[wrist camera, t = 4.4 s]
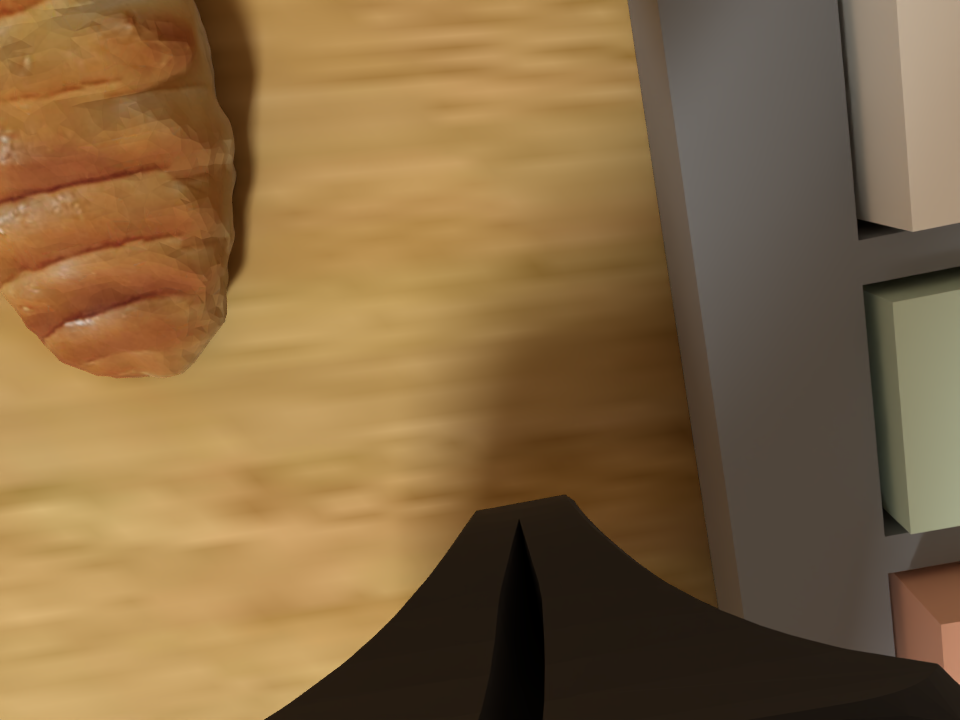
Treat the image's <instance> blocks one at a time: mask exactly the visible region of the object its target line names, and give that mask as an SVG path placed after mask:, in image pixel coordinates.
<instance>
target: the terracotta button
mask: <svg viewBox="0 0 960 720" xmlns="http://www.w3.org/2000/svg"><path fill="white" fill-rule="evenodd" d="M888 579H889V590H890V601H891V612H892V624H893V635H894V646H895V657H900V658H906V659H912V660H918V661H925V662H931V663H937V664H939V665H940V666H941V667H942V668H943V669H944V670H945V671H946V672H947V673H948V674H949V675H950V676H951V677H952V678H953V679H954V680H955V681H956V682H957V683H958V684H960V561H958V562H952V563H946V564H940V565H935V566H929V567H923V568H917V569H912V570H906V571H900V572H894V573H889V574H888Z"/></svg>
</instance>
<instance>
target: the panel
mask: <svg viewBox="0 0 960 720" xmlns="http://www.w3.org/2000/svg"><path fill="white" fill-rule="evenodd" d="M628 6H629V12H630V19H631V26H632V33H633V39H634V46H635V53H636V59H637V66H638V73H639V80H640V86H641V93H642V100H643V106H644V113H645V120H646V126H647V133H648V140H649V147H650V153H651V160H652V167H653V173H654V180H655V187H656V194H657V200H658V207H659V214H660V220H661V227H662V234H663V240H664V247H665V254H666V261H667V267H668V274H669V281H670V287H671V294H672V301H673V308H674V314H675V321H676V328H677V334H678V341H679V348H680V355H681V361H682V368H683V375H684V381H685V388H686V395H687V401H688V408H689V415H690V422H691V428H692V435H693V442H694V448H695V455H696V462H697V469H698V475H699V482H700V489H701V495H702V502H703V509H704V515H705V522H706V529H707V536H708V542H709V549H710V556H711V562H712V569H713V576H714V583H715V589H716V596H717V603H718V609H720V610H722V611H725V612H727V613H730V614H732V615H735V616H737V617H740V618H743V619H745V620H748V621H750V622H753V623H756V624H758V625H761V626H764V627H767V628H770V629H773V630H777V631H780V632H783V633H786V634H789V635H793V636H797V637H801V638H805V639H808V640H812V641H816V642H820V643H824V644H828V645H832V646H836V647H840V648H845V649H850V650H856V651H862V652H869V653H875V654H881V655H887V656H894V657H895V646H894V635H893V624H892V612H891V601H890V590H889V579H888V574H889V573H894V572H900V571H906V570H912V569H917V568H923V567H929V566H935V565H940V564H946V563H952V562H958V561H960V526H956V527H950V528H944V529H939V530H933V531H927V532H922V533H916V534H910V533H909V532H908V531H907V530H906V529H905V528H904V527H903V526H902V525H901V524H900V523H899V522H897V521H896V520H895V519H894V518H893V517H892V516H891V515H890V514H889V513H888V512H887V511H886V510H885V509H884V508H883V507H882V500H881V488H880V477H879V466H878V454H877V443H876V432H875V420H874V409H873V398H872V387H871V375H870V364H869V353H868V341H867V330H866V319H865V308H864V296H863V285H866V284H871V283H876V282H881V281H887V280H892V279H897V278H902V277H907V276H912V275H917V274H922V273H927V272H932V271H938V270H943V269H948V268H953V267H958V266H960V223H955V224H950V225H945V226H940V227H935V228H930V229H925V230H920V231H915V232H911V231H907V230H903V229H898V228H894V227H890V226H886V225H882V224H877V223H873V222H869V221H865V220H860V219H857V217H856V206H855V195H854V183H853V172H852V161H851V149H850V138H849V127H848V116H847V104H846V93H845V82H844V70H843V59H842V48H841V36H840V25H839V14H838V3H837V0H628Z"/></svg>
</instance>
